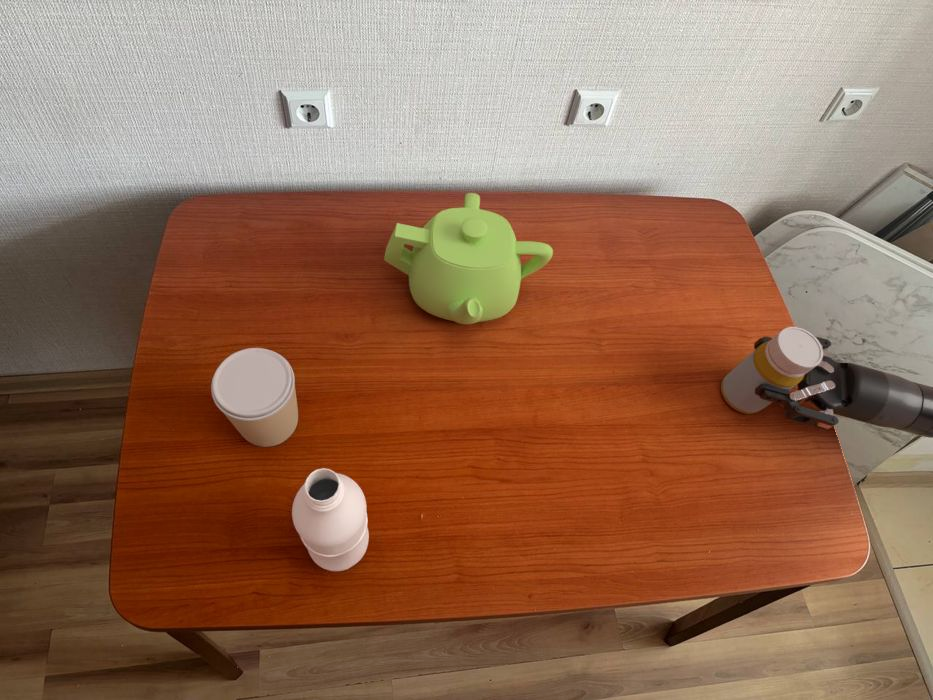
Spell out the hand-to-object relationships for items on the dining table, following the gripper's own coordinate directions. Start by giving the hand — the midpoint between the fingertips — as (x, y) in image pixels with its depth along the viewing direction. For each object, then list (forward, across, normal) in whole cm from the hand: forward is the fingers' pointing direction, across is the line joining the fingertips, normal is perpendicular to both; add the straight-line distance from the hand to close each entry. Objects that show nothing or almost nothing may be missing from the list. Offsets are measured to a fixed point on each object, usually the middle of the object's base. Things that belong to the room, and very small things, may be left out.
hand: (757, 365), depth 83 cm
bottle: (-2, 0, -9) cm, 9 cm away
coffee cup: (+63, -24, -9) cm, 68 cm away
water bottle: (+49, -37, -9) cm, 62 cm away
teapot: (+43, +4, -9) cm, 44 cm away
